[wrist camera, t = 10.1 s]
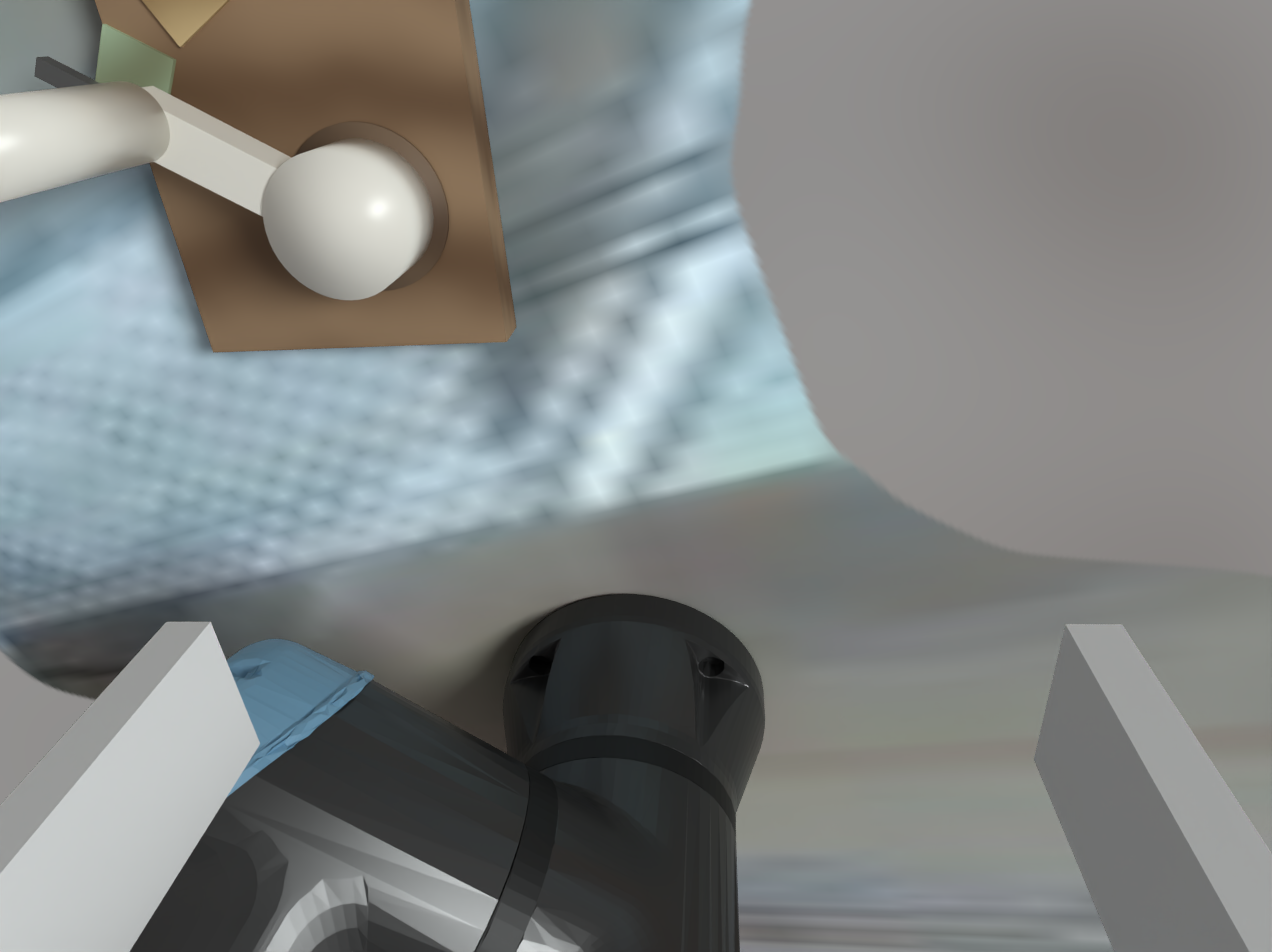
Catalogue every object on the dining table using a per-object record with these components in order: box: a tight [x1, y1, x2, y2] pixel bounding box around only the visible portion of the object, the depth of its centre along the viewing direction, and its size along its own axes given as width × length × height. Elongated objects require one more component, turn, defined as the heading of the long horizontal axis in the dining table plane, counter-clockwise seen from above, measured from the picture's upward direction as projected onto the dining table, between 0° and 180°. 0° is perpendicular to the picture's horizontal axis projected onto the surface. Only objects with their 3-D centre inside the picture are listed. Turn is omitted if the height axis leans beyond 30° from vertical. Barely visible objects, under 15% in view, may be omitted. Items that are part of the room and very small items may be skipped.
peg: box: [0, 57, 434, 300], centre depth 29 cm, size 15×6×11 cm, turn 63°
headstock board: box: [95, 0, 516, 352], centre depth 34 cm, size 20×16×2 cm
